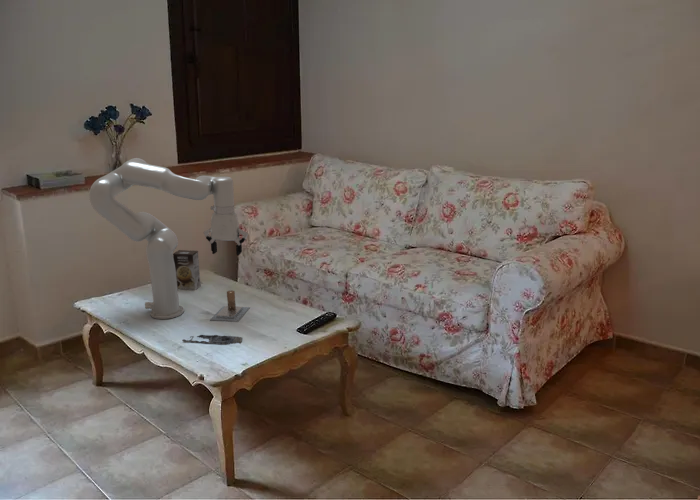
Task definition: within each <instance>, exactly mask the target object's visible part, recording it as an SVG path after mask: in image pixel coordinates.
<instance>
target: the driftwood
mask: <svg viewBox="0 0 700 500" xmlns="http://www.w3.org/2000/svg"><path fill="white" fill-rule="evenodd" d="M194 338H195V336H194V335H193V336H192V335H191V336H189V340H188V339H182V342H184V343H195V344H211V345H221V346H222V345H223V346H227V345H232V344H233V345H235V344H241V343H242V340H243V337H241V336H233V335H232V336H231V335H218V334H206V335H205V334H199V335H197V336H196V338H201V339H205V340H208V341H205V340H201V341H198V340H193V339H194Z"/></svg>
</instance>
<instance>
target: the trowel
mask: <svg viewBox="0 0 700 500" xmlns="http://www.w3.org/2000/svg"><path fill="white" fill-rule="evenodd" d="M226 301H227V305H224V306H225V307H224V308H223V309H222V310H221V311H220V312H219V313H218V314H217V315H216V318H229V319H234V318H235V317H236V316H237V315H238V314H239V313H240V312H241V311H242V309H243V307H244V306H237V305H236V294H235V290H231V289H230V290H228V291H226Z"/></svg>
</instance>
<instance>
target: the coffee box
mask: <svg viewBox="0 0 700 500" xmlns="http://www.w3.org/2000/svg"><path fill="white" fill-rule="evenodd" d="M173 259H174V263H175V269H176V278H177V287H178V290H186V291H187V290H192V291H196V290H197V289H198V288H200V287H201V276H200V275H201V273H200V262H199V260H200V259H199V251H198V250H188V249H179V250H178V249H177V251H175V252H173Z"/></svg>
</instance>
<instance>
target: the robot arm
mask: <svg viewBox="0 0 700 500" xmlns="http://www.w3.org/2000/svg"><path fill="white" fill-rule="evenodd" d="M133 186H139V187H140V186H141V187H145V188H148V189H149V188H150V189H154V190H155V189H156V190H159V191H162V192H165V193H167V194H170V195H172V196H175V197H178V198H179V197H180V198H183V199H188V200H195V201H202V200H205V199H206V198H208V197H209V196H210V195H212V197H213V205H212V206H210V210H211V211H213V213H212V214H211V220H210V221H211V222H210V228H207V229H206V230H205V231H203V234H204V237H205V240H207V241H208V242H209V245H210V251H211V253H212V254H213V255H215V254H217V253H218V244H217V241H223V242H225V241H226V242H230V241H231V242H232V241H234V242H235V243H236V245H235V250H236V252H235V253H236V256H240V255H241V254H242V252H243V246H242V245H243V243H244V242H245V241H246V239H247V237H248V236H249V233H248V232H246V231H245V230H243V229H241V228H240V222H239V219H238V214H237V212H236V211H235V194H234V180H233V178H232V177H230V176H225V175H224V176H212V175H199V176H197V177H196V178H195V179H194V178H189V177H185V176H181V175H179V174H176V173H175V172H172V171H171V169H169V168H168V167H165V166H159V165H156V164H155V165H154V164H150V163H148V162H147V161H146V160H144V159H142V158H139V157H135V158H134V157H133V158H131V159H128V160H127V161H125V162H124V163H122V164H121V166H119V167H117V168H115V169H114V170H112V171H111V172H109V173H107V174H105V175H103V176H101V177H99V178H98V179H96V180H95V181H94V182H93V183H92V184H91V186H90V189H89V192H88V193H89V194H88V195H89V196H88V197H89V202H90V206H92V208H93V210H94V211H95V212H96V213H97V214H98V215H99V216H101V217H102V218H103V219H105V220H106V221H107V222H109V223H110V224H111V226H113V227H114V228H116V229H117V230H118V231H120V233H122V234H123V235H125V236H126V238H129V239H130V240H131V241H134V242H142V241H144V240H146V241H147V243H146V247H145V254H146V260H147V262H148V268H149V278H150V284H151V292H152V302H151V301H145V302H144V306H145V307H144V308H145V309H148V310H149V309H151V311H150V316H151V318H154V319H157V320H166V319H173V318H176V317H179V316H181V315H182V314H184V312H185V309H184V307H183V306H181V305H180V301H179V300H180V299H179V298H180V297H179V289H178V287H177V278H176V269H175V263H174V259H173V253H174V251H175V250H176V249H177V247H178V246H179V245H178V244H179V239H178V236H177V234H176V232H174V231H173V230H172V229H171V228H170V227H168V226H167V225H166V224H165V223H163V222H162V221H161V220H160V219H159V218H157V217H156V216H154V215H153V214H151V213H150V212H146V211H139V212H135V211H133V210H132V209H130V208H129V207H128V206H127V205H125V204H124V203H122V202H121V201H118V200H117V199H116V198H115V197H117V196H119V195H120V194H121V193H124V192H125V191H126V190H128V189H130V188H131V187H133ZM241 235H242V237H240V236H241Z"/></svg>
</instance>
